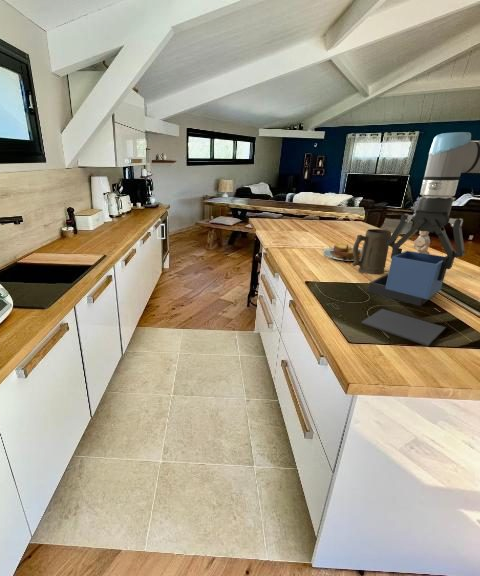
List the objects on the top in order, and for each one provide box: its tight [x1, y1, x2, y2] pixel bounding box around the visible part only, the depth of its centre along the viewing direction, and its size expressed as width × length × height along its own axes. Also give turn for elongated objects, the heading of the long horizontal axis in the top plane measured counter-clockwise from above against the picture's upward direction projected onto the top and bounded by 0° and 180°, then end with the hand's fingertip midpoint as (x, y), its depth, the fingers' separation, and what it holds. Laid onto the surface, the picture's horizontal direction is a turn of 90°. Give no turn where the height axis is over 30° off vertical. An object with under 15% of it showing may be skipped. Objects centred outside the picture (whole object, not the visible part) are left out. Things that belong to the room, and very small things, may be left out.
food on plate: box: [322, 243, 362, 262], centre depth 171 cm, size 25×25×7 cm
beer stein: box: [352, 228, 392, 275], centre depth 143 cm, size 15×11×20 cm
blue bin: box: [385, 250, 447, 300], centre depth 91 cm, size 11×11×10 cm
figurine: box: [412, 230, 431, 254], centre depth 161 cm, size 9×8×20 cm
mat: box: [360, 307, 448, 347], centre depth 97 cm, size 18×18×1 cm
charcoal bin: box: [367, 273, 438, 307], centre depth 120 cm, size 18×18×5 cm
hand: (416, 274), depth 92 cm, fingers closed on blue bin, 11 cm apart
